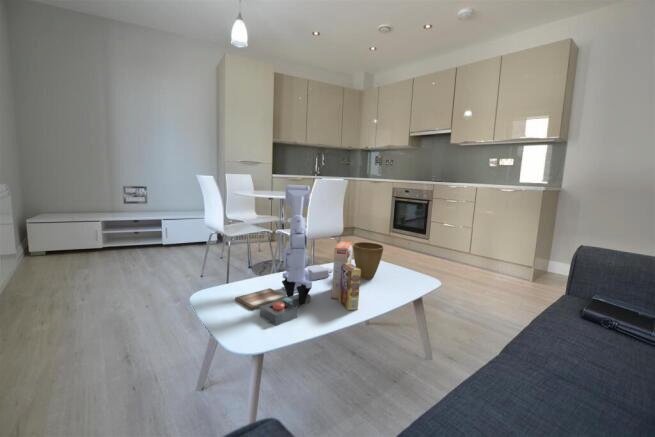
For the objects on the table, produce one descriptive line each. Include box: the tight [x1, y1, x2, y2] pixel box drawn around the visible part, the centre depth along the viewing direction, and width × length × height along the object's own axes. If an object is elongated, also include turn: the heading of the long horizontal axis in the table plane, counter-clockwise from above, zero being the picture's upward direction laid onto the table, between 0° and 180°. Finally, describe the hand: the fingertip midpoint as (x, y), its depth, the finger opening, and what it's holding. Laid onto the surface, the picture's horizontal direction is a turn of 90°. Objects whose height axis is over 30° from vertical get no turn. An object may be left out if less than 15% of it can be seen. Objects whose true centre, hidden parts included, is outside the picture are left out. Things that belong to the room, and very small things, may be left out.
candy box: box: [338, 263, 361, 311], centre depth 117 cm, size 9×4×15 cm, turn 21°
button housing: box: [259, 300, 298, 327], centre depth 106 cm, size 9×9×4 cm
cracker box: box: [331, 240, 354, 300], centre depth 129 cm, size 14×6×21 cm, turn 168°
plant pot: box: [352, 241, 385, 280], centre depth 152 cm, size 15×15×16 cm
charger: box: [306, 264, 333, 282], centre depth 152 cm, size 5×9×15 cm
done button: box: [273, 302, 285, 311], centre depth 106 cm, size 4×4×2 cm
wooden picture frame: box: [234, 287, 287, 311], centre depth 120 cm, size 16×12×1 cm
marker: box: [282, 293, 312, 308], centre depth 117 cm, size 12×3×3 cm, turn 135°
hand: (296, 301), depth 116 cm, fingers open, 6 cm apart
